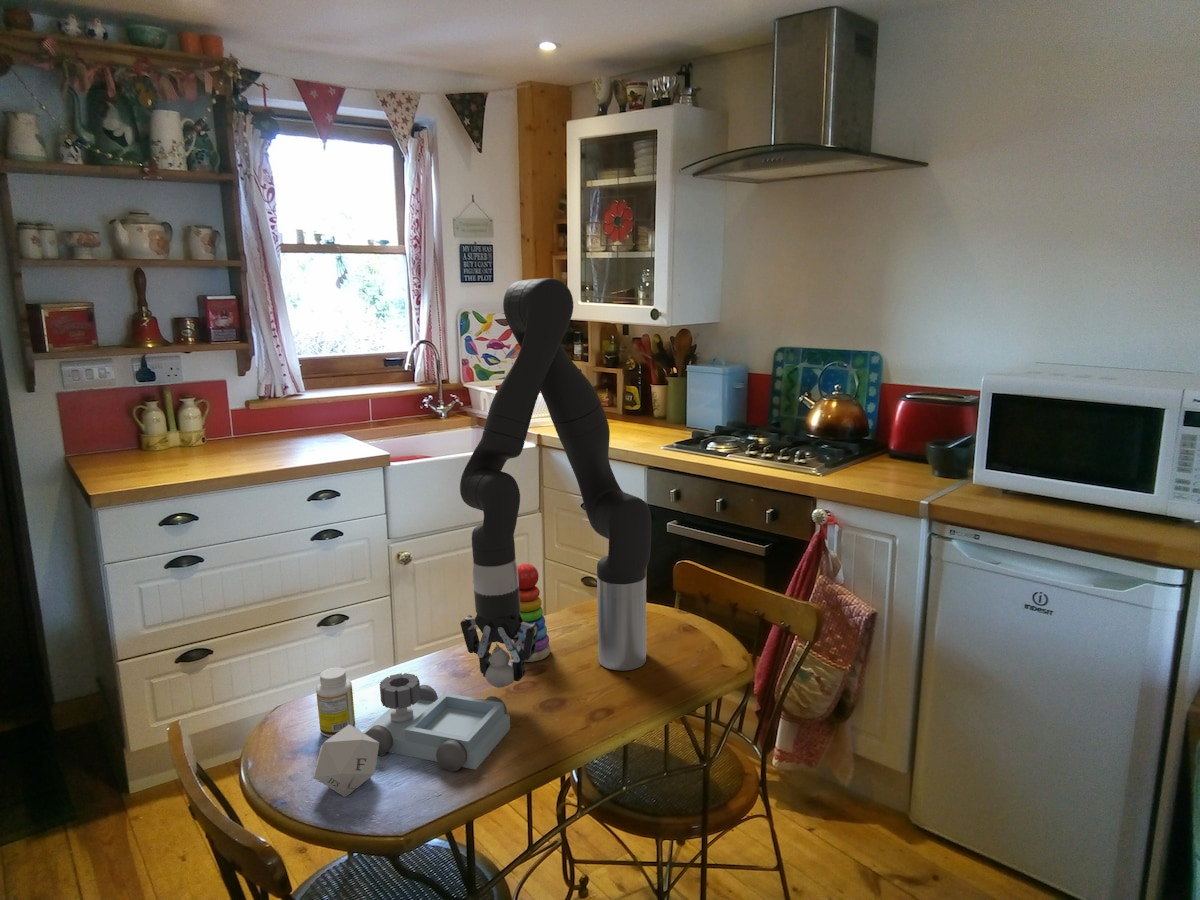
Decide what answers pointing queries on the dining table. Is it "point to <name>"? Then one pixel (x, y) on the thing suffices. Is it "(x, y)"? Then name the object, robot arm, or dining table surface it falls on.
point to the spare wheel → (400, 690)
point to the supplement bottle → (334, 701)
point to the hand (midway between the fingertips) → (503, 676)
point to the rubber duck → (500, 668)
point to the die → (346, 760)
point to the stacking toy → (532, 610)
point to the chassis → (443, 729)
